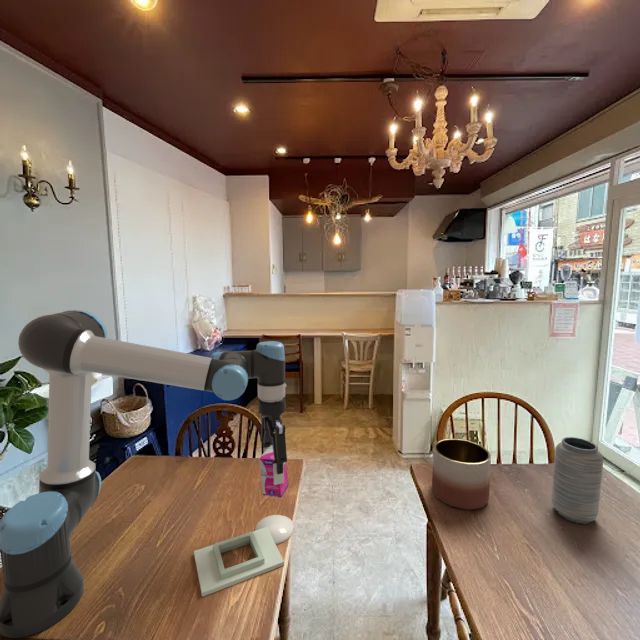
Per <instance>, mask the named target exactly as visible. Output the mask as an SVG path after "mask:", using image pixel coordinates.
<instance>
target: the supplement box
mask: <svg viewBox="0 0 640 640" xmlns="http://www.w3.org/2000/svg"><path fill="white" fill-rule="evenodd" d="M272 461H274V453H273V449H269V448H267V449H266V450H265V452H264V451H263V453H262V454H261V455H260V456H259V457H258V463H259V472H260V481H261V489H262V496H267V497H276V498H282V497H283V496H284V493H286V491H287V489H288V487H289V478H288V470H287V469H288V467H287V462H284V483H281V484H277V485H274V474H273V463H272Z"/></svg>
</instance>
